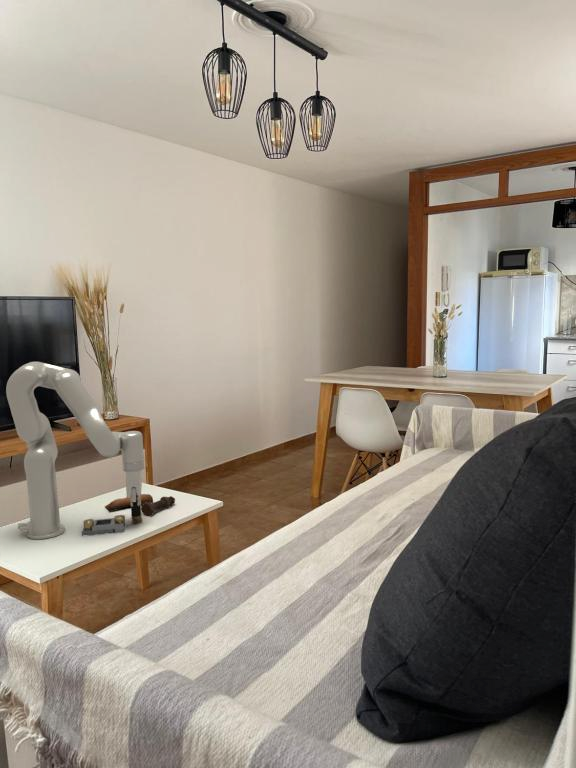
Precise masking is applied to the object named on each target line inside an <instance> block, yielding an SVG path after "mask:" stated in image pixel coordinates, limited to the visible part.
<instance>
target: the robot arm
mask: <svg viewBox="0 0 576 768" xmlns="http://www.w3.org/2000/svg"><path fill="white" fill-rule="evenodd" d="M8 378H9V379H8V380H7V383H6V385H5V386H6V389H5V393H6V398H7V402H8V405H9V408H10V412H11V416H12V418H13V423H14V426H15V430H16V433H17V436H18V438H20V440H21V441H22V442H25V443H26V446H27V451H26V453H25V455H24V458H23V467H24V473H25V478H26V485H27V486H26V487H27V498H28V508H29V509H28V510H29V520H30V521H27V522H26V523H25V522H22V523H20V522H19V523H18V524H17V529H18V530H19V531H26V537H27V538H29V539H31V540H45V539H50V538H53V537H57V536H59V535H61V534H63V533H64V532H65V531H66V527H65V525H64V524H62V523H61V520H60V518H61V517H60V507H59V495H58V493H59V492H58V482H57V473H56V465H55V464H56V463H55V462H56V459H57V457H58V454H59V453H58V451H59V450H58V447H57V441H56V438H55V436H54V432H53V430H52V427H51V424H50V420H49V418H48V417H47V416H46V414H44V413H43V412H41V411H40V409H39V406H38V401H37V399H36V397H35V394H34V393H35V392H34V391H35V389H36V388H37V387H42V388H46V389H51V390H55V392H56V393H57V394H58V396H59V397H60V398H61V400H62V401H63V402H64V404H65V405H66V406H67V408H68V409H69V411H70V412H71V413H72V414H73V416H74V418H75V420H76V421H77V423H78V424H79V426H80V427H81V430H83V432H84V434H85V435H86V437H87V439H88V440H89V442H90V443H91V444H92V446H94V448H95V449H96V450H97V452H98V453H99V455H101V456H103V457H105V458H114V457H116V456H117V455H118V454H119V452H120V451H121V459H122V461H121V462H122V471H123V472H125V483H126V484H125V487H126V497H127V499H129V498H130V496H131V506H130V512H131V518H132V517H139V516H141V512H142V510H141V511H140V505H139V498H140V497H141V494H142V488H143V487H142V486H143V481H142V471H144V470H145V459H144V458H145V457H144V441H143V439H144V438H143V433H142V432H141V431H138V430H129V431H124V432H123V431H111V429H110V428H109V426H108V425H107V423H106V422H105V420H104V418H103V416H102V414H101V410H100V407H99V405H98V404H97V402H96V401H95V399H94V398H93V396H92V395H91V394H90V393H89V391H88V389H86V386H85V385H84V384H83V382H82V379H81V376H80V374H79V373H78V372H77V371H76V370H74V369H71V368H67V367H66V368H65V367H61V366H57V365H52V364H51V363H50V364H49V363H45V362H42V361H30V362H28V363H25V364H23V365H22V366H20V367H18V369H16V370H14V372H13V373H12V374H11V375H10V377H8ZM136 496H138V497H136ZM136 499H137V500H136Z"/></svg>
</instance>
